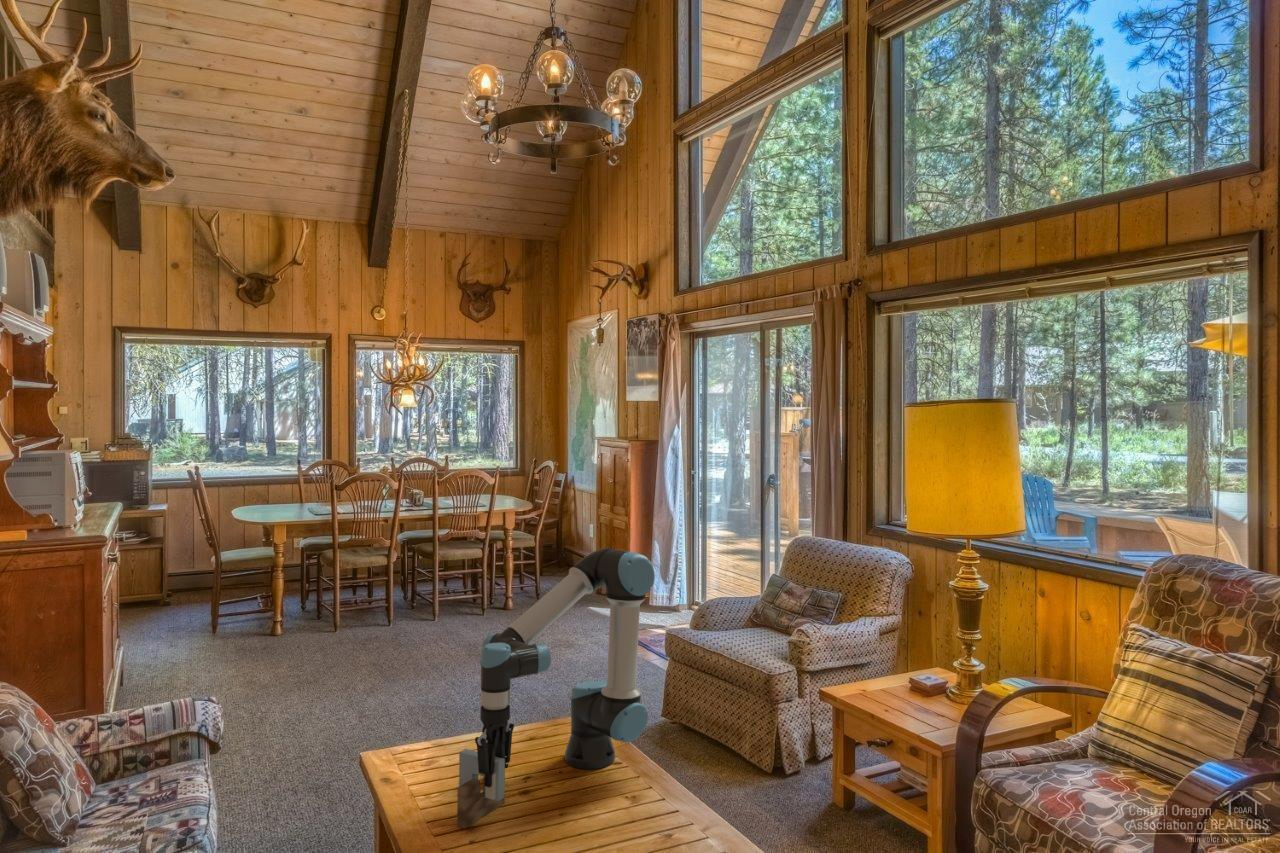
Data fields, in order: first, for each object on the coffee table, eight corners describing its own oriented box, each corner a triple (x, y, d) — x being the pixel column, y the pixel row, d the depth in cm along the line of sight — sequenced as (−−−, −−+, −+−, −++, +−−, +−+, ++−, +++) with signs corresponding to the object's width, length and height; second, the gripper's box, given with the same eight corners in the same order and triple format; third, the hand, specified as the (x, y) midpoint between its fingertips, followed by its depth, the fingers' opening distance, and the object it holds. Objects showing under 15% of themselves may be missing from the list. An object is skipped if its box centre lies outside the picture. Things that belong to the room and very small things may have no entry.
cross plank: (465, 786, 224) (465, 748, 224) (504, 797, 218) (504, 759, 218) (459, 789, 222) (459, 751, 222) (498, 801, 216) (498, 762, 215)
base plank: (497, 801, 228) (497, 764, 227) (504, 803, 226) (504, 766, 226) (457, 826, 214) (457, 787, 213) (464, 828, 212) (465, 789, 212)
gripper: (502, 693, 226) (501, 780, 226) (463, 711, 212) (462, 804, 213) (525, 698, 222) (524, 787, 223) (487, 716, 209) (486, 811, 209)
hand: (494, 795), depth 218 cm, fingers closed on cross plank, 2 cm apart
